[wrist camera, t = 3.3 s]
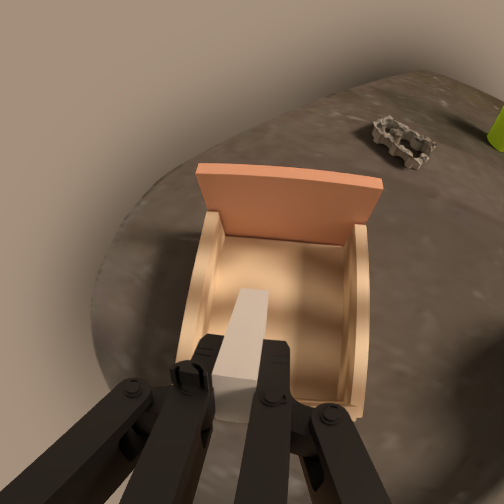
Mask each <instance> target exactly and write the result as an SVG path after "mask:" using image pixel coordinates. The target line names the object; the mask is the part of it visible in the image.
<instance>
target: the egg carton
mask: <svg viewBox="0 0 504 504" xmlns="http://www.w3.org/2000/svg"><path fill="white" fill-rule="evenodd" d="M373 123H374V125H375V126H374V129H373V132H372V135H373V137H374V140H373V141H374V142H375V143H377V144H384V145H386V146H387V147H388V148H389V153H390V154H391V155H392V156H399V157H401V158H402V159H403V160H404V161H405V164H404V165H405V166H406V167H407V168H408V169H410V168H413V169H416V170H418V169H419V168H420V166H421V165H422V163H423V162H426V161H427V160H428V159H429V158H430V154H431V151H432V150H433V149H434V148H435V147H436V143H434V142H433V140H431V139H429V138H428V137H427V136H424V135H422V136H421V135H419V134H418V133H417V132H416V131H413V130H411V129H409V128H408V127H407V126H406V125H404V124H402V123H399V122H398V121H394V118H392V117H391V116H390V115H389V116H388V117H386V116H385V117H384V118H381V119H378V120H377V121H376V122H373ZM385 128H387V129H390V131H389V133H386V132H385ZM401 139H406V140H407V141H409V142H410V146H411V147H412V148H413V149H414V150H416V151H421V152H423V153H422V154H421V155H420V157H419V158H413V153H412V152H411V151H410V150H409V149H406V148H404V146H403V145H400V146H398V144H399V142H400V140H401Z"/></svg>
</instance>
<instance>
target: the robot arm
mask: <svg viewBox="0 0 504 504" xmlns="http://www.w3.org/2000/svg"><path fill="white" fill-rule="evenodd" d="M268 297H269V290H258V289H246V288H241V289H240V292H239V295H238V298H237V301H236V304H235V307H234V310H233V313H232V316H231V318H230V321H229V324H228V327H227V330H226V333H225V336H224V335H216V334H209V333H207V334H206V335H205V336H203V337H202V338H201V339H200V340H199V342H198V345H197V347H196V349H195V351H194V355H193V356H192V358H191V360H184V361H179V362H177V363H175V364H173V366H172V367H171V368H170V374H171V379H172V383H173V385H171V386H167V387H150V386H149V384H148V383H147V382H146V381H145V380H143V379H140V378H129V379H125V380H124V381H122V382H120V383H119V384H118V385H117V386H116V387H115V388H114V389H113V390H112V391H111V392H109V393H108V394H107V395H106V396H105V397H104V398H103V399H102V400H101V401H100V402H99V403H98V404H96V405H95V407H93V408H92V409H91V410H90V411H89V412H88V413H87V414H85V415H84V416H83V417H82V418H81V419H80V420H79V421H78V422H77V423H76V424H75V425H73V426H72V427H71V428H70V429H69V430H68V431H67V432H66V433H65V434H64V435H62V437H60V438H59V439H58V440H57V441H56V442H55V443H54V444H53V445H52V446H51V447H49V448H48V449H47V450H46V451H45V452H44V453H43V454H42V455H40V456H39V457H38V458H37V459H36V460H35V461H34V462H33V463H32V464H31V465H30V466H28V467H27V468H26V469H25V470H24V471H23V472H22V473H21V474H20V475H18V476H17V477H16V478H15V479H14V480H13V481H12V482H10V483H9V484H8V485H7V486H6V487H5V488H4V489H3V490H2V491H1V492H0V504H104V503H105V502H106V501H107V500H108V499H109V497H110V496H111V495H112V494H113V493H114V492H115V491H116V489H117V488H118V487H119V486H120V485H121V484H122V482H123V481H124V480H125V479H126V478H127V477H128V475H129V474H130V473H131V472H132V471H133V470H134V471H133V473H132V475H131V478H130V480H129V482H128V484H127V487H126V489H125V491H124V494H123V496H122V498H121V500H120V503H119V504H192V503H193V500H194V496H195V493H196V489H197V485H198V482H199V478H200V475H201V471H202V467H203V464H204V460H205V457H206V453H207V449H208V446H209V442H210V438H211V435H212V431H213V424H212V422H213V418H214V415H215V419H216V420H222V421H229V422H236V423H244V424H248V429H247V435H246V441H245V446H244V452H243V458H242V463H241V469H240V474H239V480H238V485H237V490H236V495H235V501H234V504H287V494H288V478H289V460H290V453H293V454H296V455H298V456H299V459H300V463H301V466H302V469H303V473H304V476H305V480H306V483H307V486H308V490H309V493H310V497H311V500H312V503H313V504H391V501H390V499H389V497H388V495H387V493H386V491H385V488H384V486H383V484H382V482H381V480H380V478H379V476H378V473H377V471H376V469H375V467H374V465H373V463H372V461H371V459H370V456H369V454H368V452H367V450H366V448H365V446H364V444H363V442H362V440H361V438H360V436H359V433H358V431H357V429H356V427H355V425H354V423H353V421H352V419H351V417H350V415H349V413H348V412H347V410H346V409H345V408H344V407H342V406H341V405H339V404H335V403H323V404H320V405H318V406H317V407H315V408H313V407H310V406H307V405H304V404H301V403H299V402H298V401H296V400H295V399H294V398H293V397H292V395H291V393H290V347H289V346H288V344H287V342H286V341H281V340H269V339H265V333H266V322H267V310H268ZM134 468H135V469H134Z"/></svg>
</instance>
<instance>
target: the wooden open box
mask: <svg viewBox="0 0 504 504" xmlns="http://www.w3.org/2000/svg"><path fill="white" fill-rule="evenodd" d="M241 288H246V289H258V290H269V297H268V310H267V322H266V333H265V339H269V340H281V341H286V342H287V344H288V346H289V347H290V393H291V395H292V397H293V398H294V399H295V400H296V401H298V402H299V403H301V404H304V405H307V406H310V407H313V408H315V407H317V406H318V405H320V404H323V403H335V404H339V405H341V406H342V407H344V408H345V409H346V410H347V412H348V413H349V415H350V417H351V419H352V421H356V418H357V417H362V415H363V407H364V398H365V389H366V378H367V365H368V348H369V314H370V296H369V261H368V244H367V230H366V225H358V224H355V225H354V227H353V229H352V231H351V233H350V235H349V237H348V239H347V241H346V243H345V245H344V247H342V246H332V245H321V244H311V243H300V242H289V241H278V240H266V239H255V238H243V237H231V236H225V233H224V229H223V226H222V223H221V219H220V216H219V212H208V211H207V213H206V217H205V221H204V225H203V229H202V234H201V238H200V242H199V246H198V251H197V255H196V260H195V264H194V269H193V273H192V278H191V283H190V288H189V292H188V297H187V302H186V307H185V313H184V318H183V323H182V329H181V334H180V340H179V345H178V351H177V357H176V363H177V362H179V361H184V360H191V358H192V356H193V355H194V351H195V349H196V347H197V345H198V342H199V340H200V339H201V338H202V337H203V336H205V335H206V334H207V333H209V334H216V335H224V336H225V333H226V330H227V327H228V324H229V321H230V318H231V316H232V313H233V310H234V307H235V304H236V301H237V298H238V295H239V292H240V289H241ZM172 385H173V383H172Z"/></svg>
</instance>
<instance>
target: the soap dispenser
mask: <svg viewBox="0 0 504 504" xmlns="http://www.w3.org/2000/svg"><path fill="white" fill-rule="evenodd" d="M487 139H488V141H489V142H490V144H491V145H492V146H493V147H494V148H495V149H496V150H498V151H499V152H504V106H503V108H502V110H501V112H500V114H499V116H498V117H497V119H496V121H495V123H494V124H493V126H492V128H491V130H490V131H489V133H488V135H487Z"/></svg>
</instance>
